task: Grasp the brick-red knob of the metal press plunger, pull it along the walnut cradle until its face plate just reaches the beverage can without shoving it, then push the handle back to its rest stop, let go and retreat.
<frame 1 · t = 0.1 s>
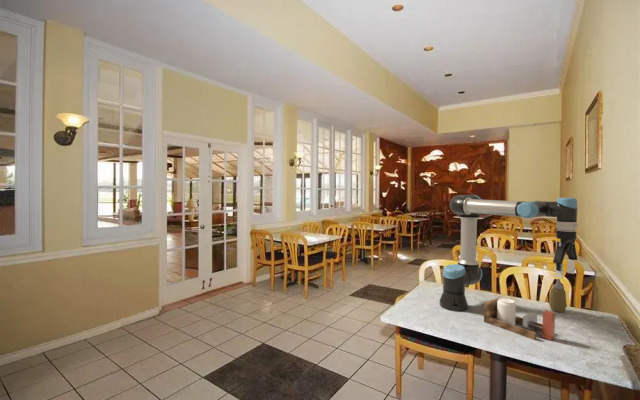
hand: (565, 275, 151), 28 cm above the table, fingers open, 13 cm apart
plunger: (540, 322, 149), point 6 cm above the table, slide at 0.0 cm
beverage can: (505, 324, 162), resting in cradle frame
squeeze bottle: (557, 311, 179), on the table
cradle frame: (520, 328, 156), on the table
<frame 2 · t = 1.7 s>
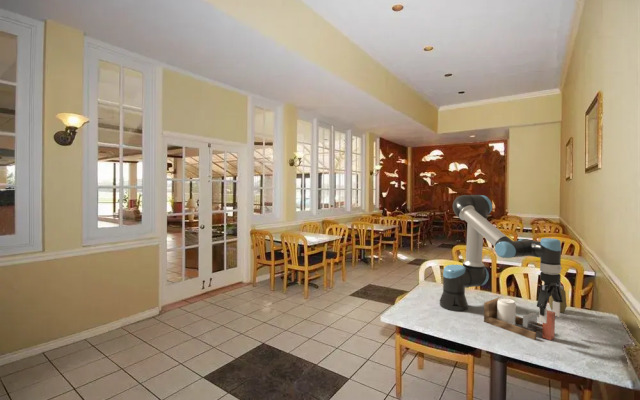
hand: (549, 319, 146), 9 cm above the table, fingers open, 13 cm apart
nothing on the table moved.
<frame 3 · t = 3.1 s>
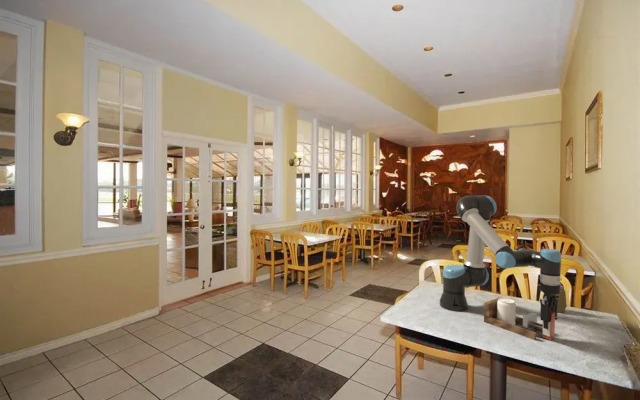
hand: (548, 333, 146), 2 cm above the table, fingers closed on plunger, 3 cm apart
plunger: (540, 322, 149), point 6 cm above the table, slide at 0.0 cm, touching gripper
everything else where it was.
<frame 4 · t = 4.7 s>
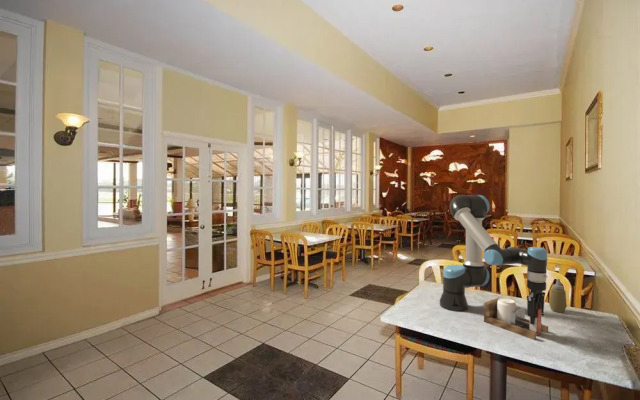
hand: (535, 329, 151), 2 cm above the table, fingers closed on plunger, 3 cm apart
plunger: (527, 318, 154), point 6 cm above the table, slide at 5.5 cm, touching gripper
everything else where it was.
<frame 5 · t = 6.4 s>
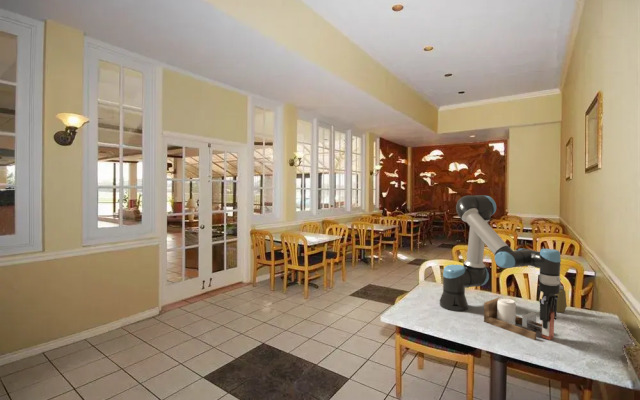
hand: (547, 333, 146), 2 cm above the table, fingers closed on plunger, 3 cm apart
plunger: (539, 321, 149), point 6 cm above the table, slide at 0.3 cm, touching gripper
everything else where it was.
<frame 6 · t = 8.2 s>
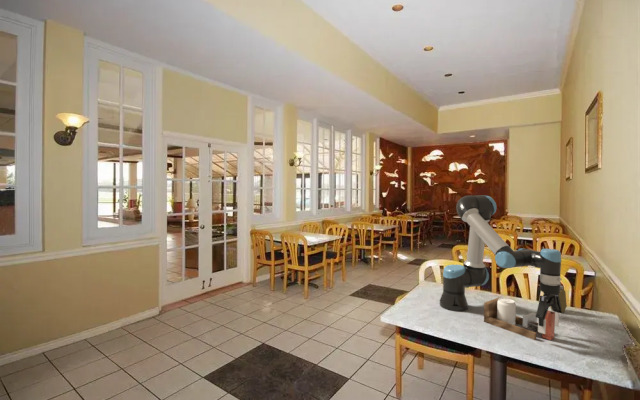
hand: (548, 329, 146), 4 cm above the table, fingers open, 13 cm apart
plunger: (539, 322, 149), point 6 cm above the table, slide at 0.0 cm
everything else where it was.
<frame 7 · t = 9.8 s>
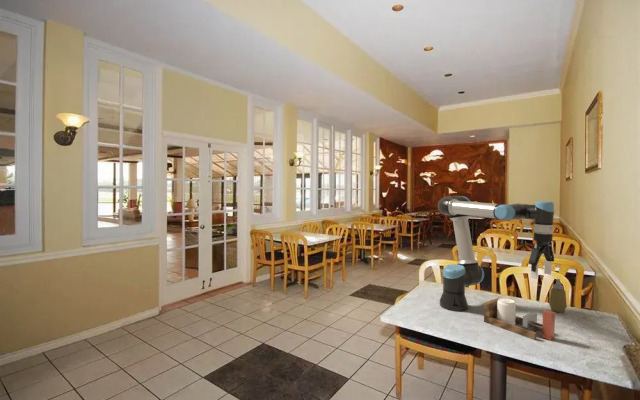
hand: (540, 276, 156), 26 cm above the table, fingers open, 13 cm apart
nothing on the table moved.
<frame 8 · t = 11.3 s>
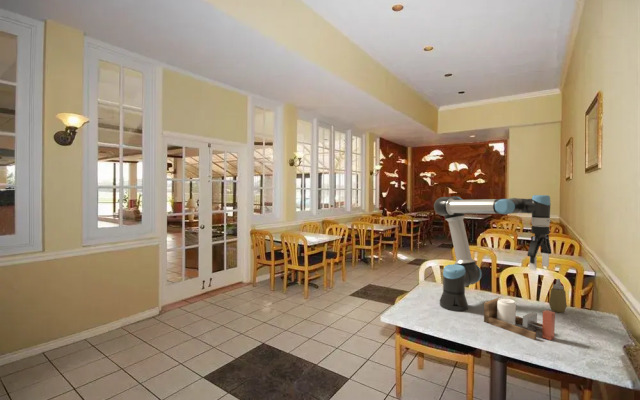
hand: (539, 268, 160), 29 cm above the table, fingers open, 13 cm apart
nothing on the table moved.
at the end: plunger slide at 0.0 cm; beverage can moved 0.2 cm from its start; the gripper is holding nothing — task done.
